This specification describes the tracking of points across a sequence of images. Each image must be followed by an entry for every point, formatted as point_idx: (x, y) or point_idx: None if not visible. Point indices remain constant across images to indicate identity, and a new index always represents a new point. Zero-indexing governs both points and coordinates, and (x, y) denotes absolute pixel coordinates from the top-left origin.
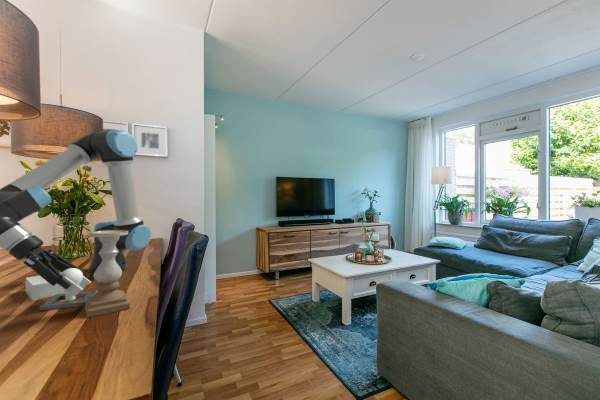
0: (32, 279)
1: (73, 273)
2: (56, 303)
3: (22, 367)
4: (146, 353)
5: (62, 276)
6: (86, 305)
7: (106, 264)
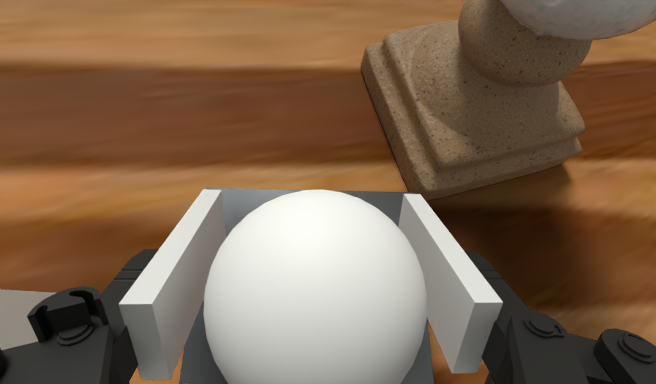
0: None
1: (403, 242)
2: None
3: None
4: None
5: (543, 317)
6: (512, 167)
7: None
